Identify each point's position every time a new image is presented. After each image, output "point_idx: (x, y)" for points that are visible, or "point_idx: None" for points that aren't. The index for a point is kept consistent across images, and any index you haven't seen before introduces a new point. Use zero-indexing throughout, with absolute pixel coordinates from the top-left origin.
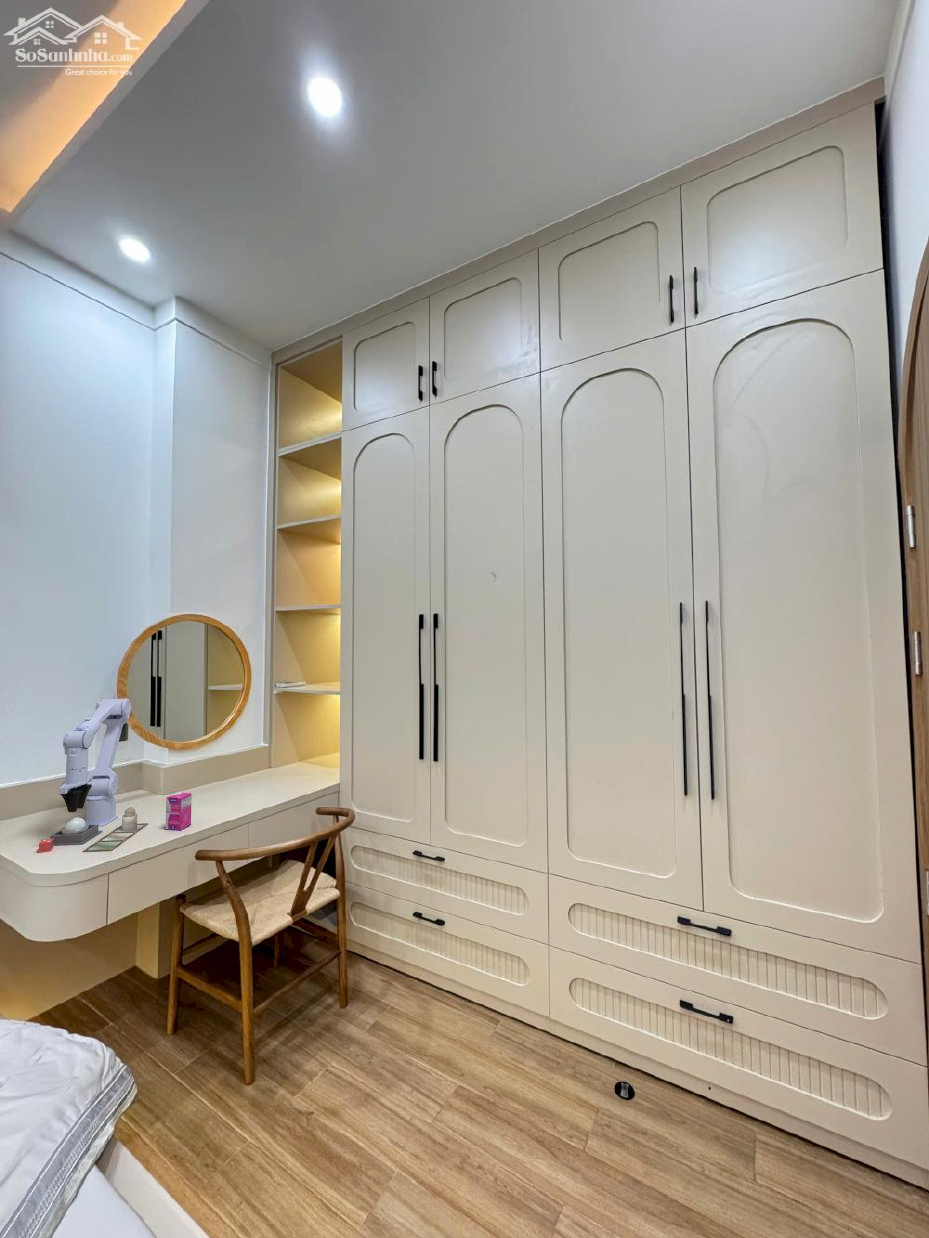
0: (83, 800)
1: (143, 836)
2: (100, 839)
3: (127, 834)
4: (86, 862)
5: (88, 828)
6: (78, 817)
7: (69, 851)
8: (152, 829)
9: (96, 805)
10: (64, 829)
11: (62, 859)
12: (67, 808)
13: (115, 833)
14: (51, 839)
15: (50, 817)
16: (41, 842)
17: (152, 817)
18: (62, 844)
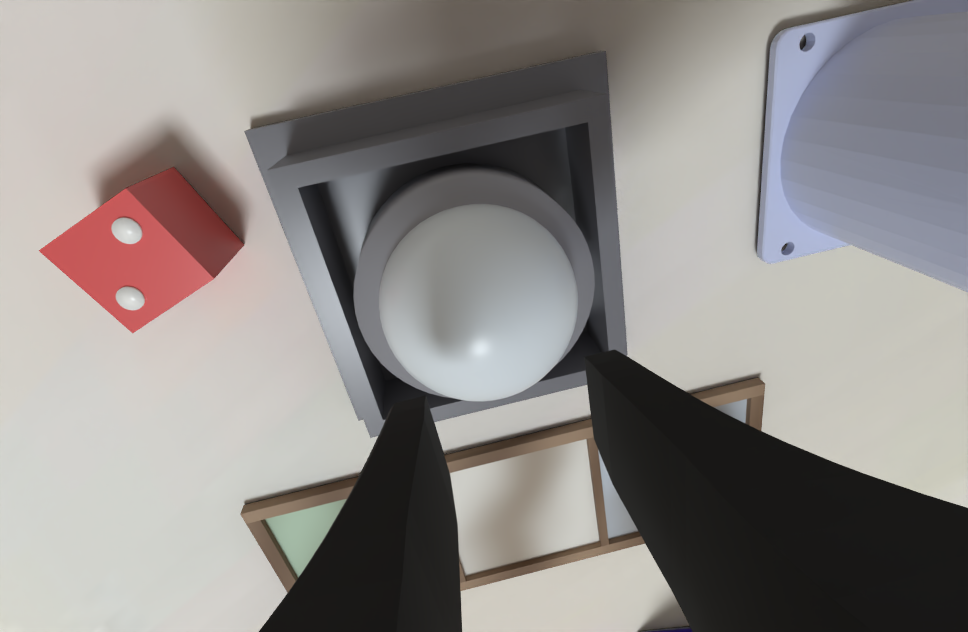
0: (657, 550)
1: (549, 601)
2: (453, 465)
3: (569, 526)
4: (135, 620)
5: (594, 296)
6: (526, 356)
7: (235, 414)
8: (660, 572)
9: (963, 248)
10: (398, 242)
11: (103, 481)
12: (375, 445)
13: (587, 453)
14: (183, 280)
15: None
16: (74, 251)
17: (894, 440)
18: (306, 283)
